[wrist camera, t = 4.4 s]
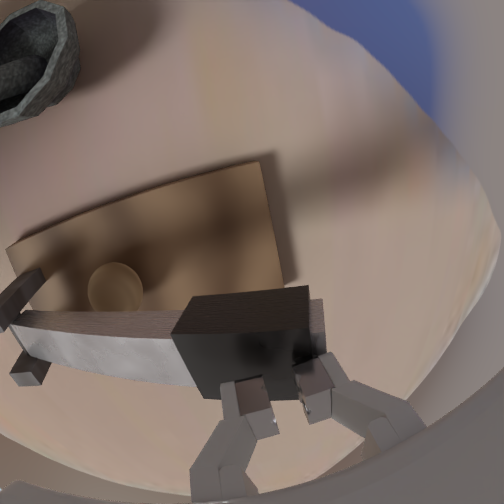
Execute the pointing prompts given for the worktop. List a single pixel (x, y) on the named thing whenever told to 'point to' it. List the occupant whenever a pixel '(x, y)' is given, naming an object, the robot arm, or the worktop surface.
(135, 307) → the smooth brown ball
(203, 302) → the lever
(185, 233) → the base
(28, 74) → the mortar and pestle
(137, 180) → the worktop surface
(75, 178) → the worktop surface
